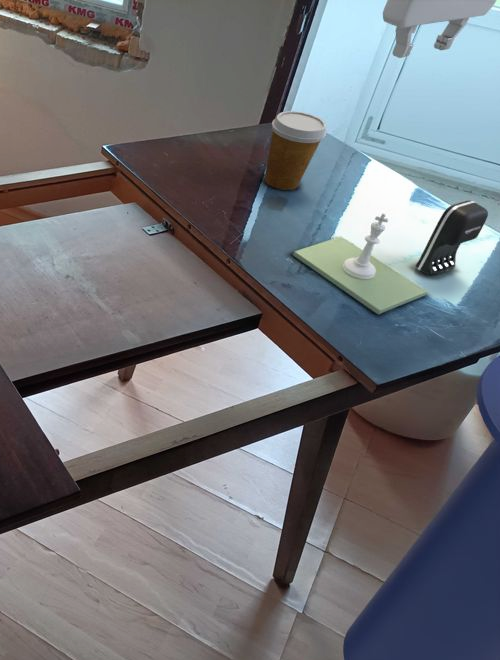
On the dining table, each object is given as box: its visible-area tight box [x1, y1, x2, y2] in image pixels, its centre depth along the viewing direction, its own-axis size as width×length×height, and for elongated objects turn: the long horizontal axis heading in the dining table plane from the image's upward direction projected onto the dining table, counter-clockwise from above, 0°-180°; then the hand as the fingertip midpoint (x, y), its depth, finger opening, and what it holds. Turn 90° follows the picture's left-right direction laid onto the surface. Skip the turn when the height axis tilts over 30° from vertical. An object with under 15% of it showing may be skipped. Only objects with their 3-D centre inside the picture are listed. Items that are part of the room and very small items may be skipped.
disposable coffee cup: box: [263, 110, 327, 191], centre depth 126 cm, size 10×10×12 cm
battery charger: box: [415, 200, 489, 277], centre depth 106 cm, size 7×4×11 cm, turn 118°
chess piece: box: [342, 212, 389, 279], centre depth 104 cm, size 5×5×10 cm
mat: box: [292, 236, 428, 315], centre depth 107 cm, size 17×11×1 cm, turn 30°
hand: (420, 52), depth 99 cm, fingers open, 8 cm apart
